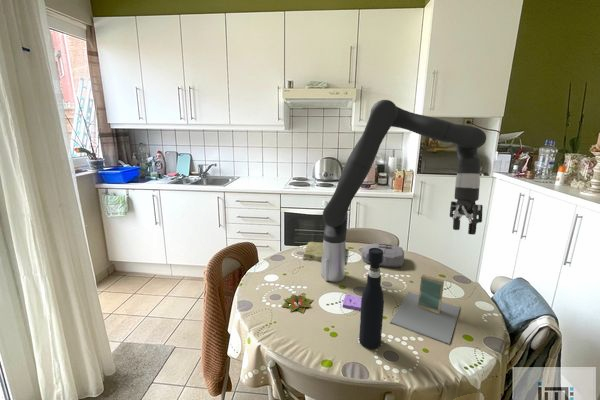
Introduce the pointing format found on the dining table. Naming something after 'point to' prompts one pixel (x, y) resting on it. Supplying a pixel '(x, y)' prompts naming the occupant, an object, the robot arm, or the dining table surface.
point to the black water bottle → (372, 303)
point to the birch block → (431, 293)
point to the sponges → (352, 302)
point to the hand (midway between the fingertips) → (463, 232)
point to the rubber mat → (426, 319)
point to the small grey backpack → (386, 254)
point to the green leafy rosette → (297, 299)
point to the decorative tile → (314, 251)
